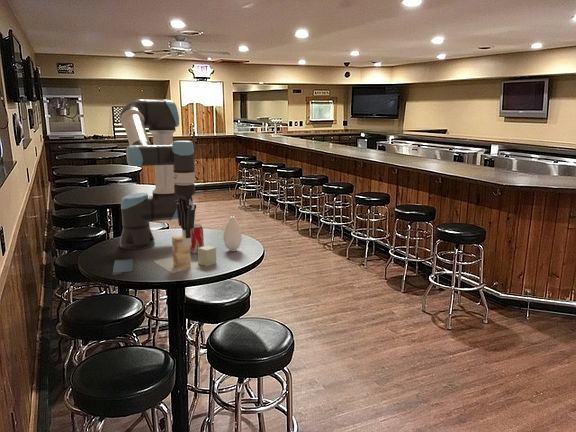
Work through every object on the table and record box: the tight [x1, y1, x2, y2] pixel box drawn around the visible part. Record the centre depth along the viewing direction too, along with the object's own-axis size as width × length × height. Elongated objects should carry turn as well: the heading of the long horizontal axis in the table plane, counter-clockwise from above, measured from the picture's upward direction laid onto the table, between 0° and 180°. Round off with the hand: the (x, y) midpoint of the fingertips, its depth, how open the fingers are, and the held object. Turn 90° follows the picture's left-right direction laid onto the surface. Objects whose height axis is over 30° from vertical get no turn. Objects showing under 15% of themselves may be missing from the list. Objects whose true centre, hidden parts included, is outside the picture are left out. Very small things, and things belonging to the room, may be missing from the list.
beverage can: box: [190, 224, 205, 255], centre depth 196 cm, size 6×6×12 cm
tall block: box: [171, 234, 192, 270], centre depth 176 cm, size 5×5×12 cm
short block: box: [197, 244, 217, 267], centre depth 181 cm, size 5×5×7 cm
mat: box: [153, 256, 201, 274], centre depth 181 cm, size 18×12×1 cm, turn 38°
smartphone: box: [111, 258, 135, 276], centre depth 177 cm, size 8×2×15 cm
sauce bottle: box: [223, 211, 243, 252], centre depth 199 cm, size 8×8×18 cm
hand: (187, 245), depth 172 cm, fingers closed
